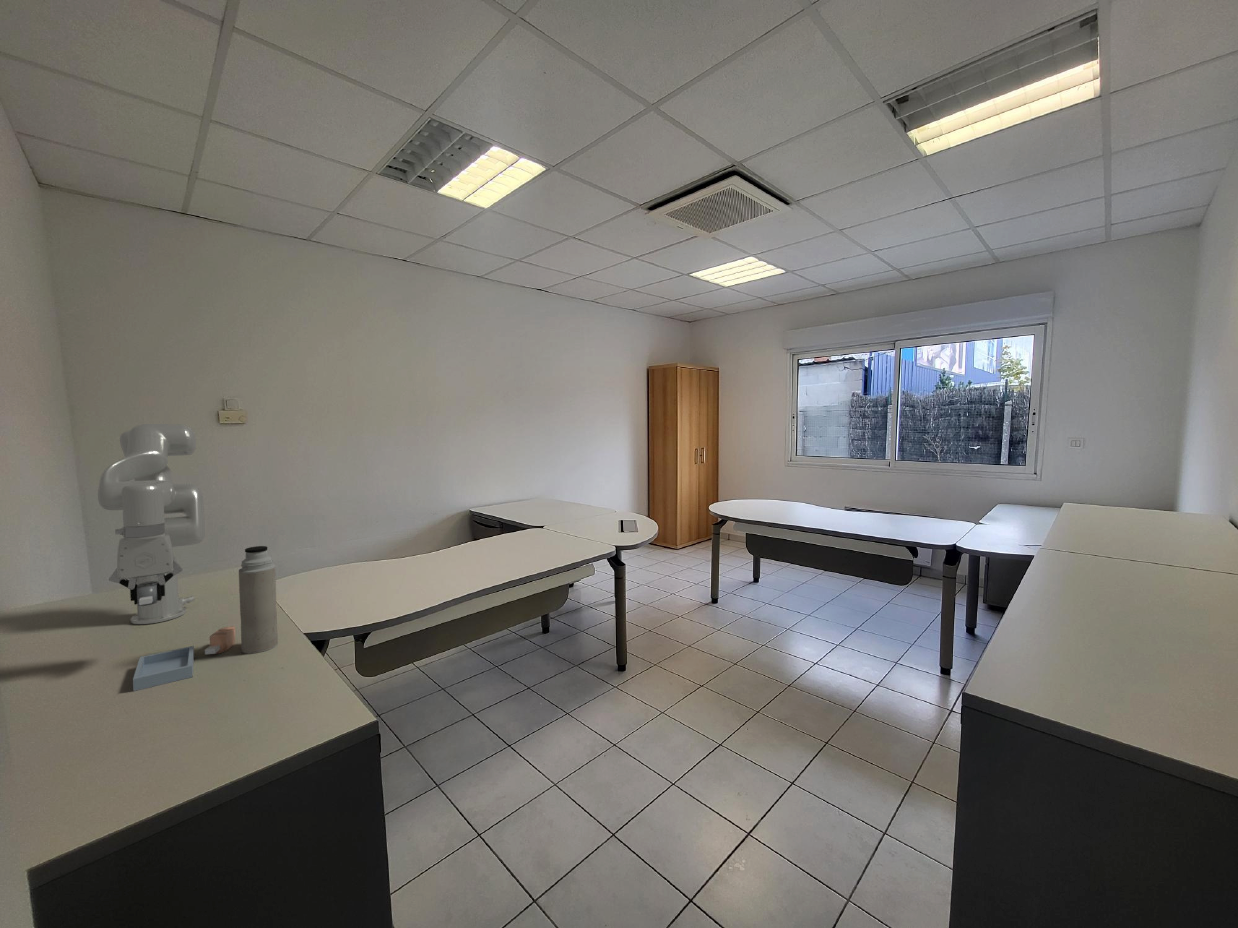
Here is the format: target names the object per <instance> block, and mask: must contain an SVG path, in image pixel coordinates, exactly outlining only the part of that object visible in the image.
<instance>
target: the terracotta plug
mask: <svg viewBox="0 0 1238 928" xmlns="http://www.w3.org/2000/svg"><path fill="white" fill-rule="evenodd" d="M235 644H236V626H225V627H222V628H219V629H218V630H216V631H215V632H213V633H212V634H211V635H209V646H208V647H207V648H205V649H204V655H217V654H221V653H224V652H226V651H228V650H229V649H230V648H231V647H233V645H235Z"/></svg>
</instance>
